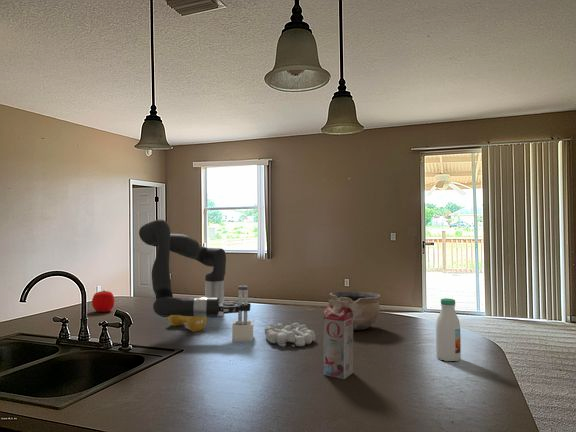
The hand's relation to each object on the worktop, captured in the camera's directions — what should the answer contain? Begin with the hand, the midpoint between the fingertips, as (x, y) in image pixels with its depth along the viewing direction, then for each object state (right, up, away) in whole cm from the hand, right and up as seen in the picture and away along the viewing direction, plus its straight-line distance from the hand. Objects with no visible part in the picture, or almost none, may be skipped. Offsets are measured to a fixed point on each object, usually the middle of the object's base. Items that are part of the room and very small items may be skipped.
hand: (250, 307), depth 170 cm
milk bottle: (+69, -12, -26) cm, 75 cm away
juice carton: (+30, -12, -40) cm, 52 cm away
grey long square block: (-3, -10, 0) cm, 10 cm away
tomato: (-80, -13, +52) cm, 96 cm away
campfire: (+15, -13, -2) cm, 20 cm away
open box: (-3, -12, 0) cm, 13 cm away
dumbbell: (-29, -13, +17) cm, 36 cm away
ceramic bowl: (+44, -13, +17) cm, 49 cm away
